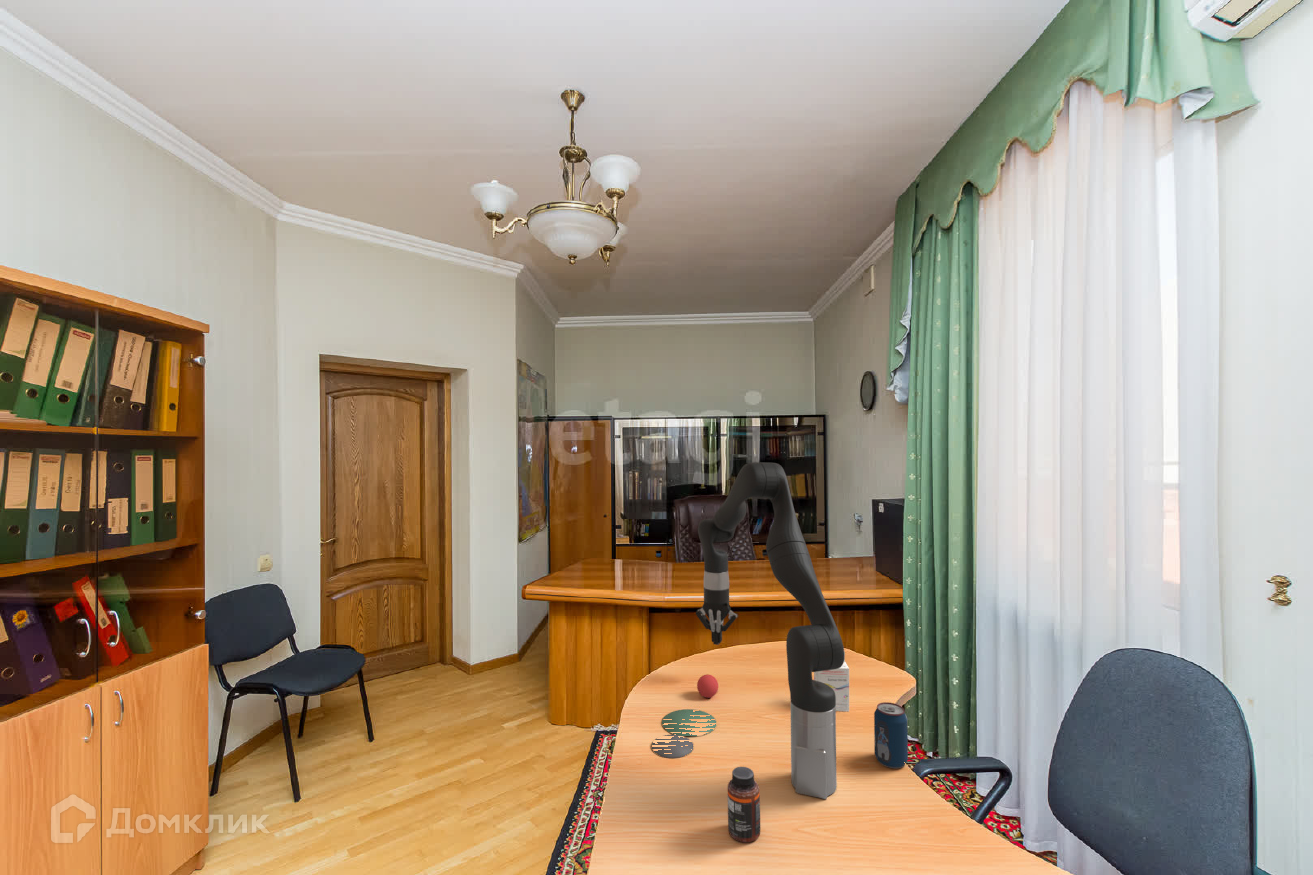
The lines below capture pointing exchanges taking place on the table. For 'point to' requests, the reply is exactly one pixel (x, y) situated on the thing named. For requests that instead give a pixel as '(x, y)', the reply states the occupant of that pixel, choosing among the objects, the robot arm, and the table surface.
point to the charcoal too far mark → (674, 747)
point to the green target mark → (686, 721)
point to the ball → (707, 686)
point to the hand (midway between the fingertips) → (716, 643)
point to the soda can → (890, 735)
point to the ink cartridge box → (837, 684)
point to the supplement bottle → (743, 805)
